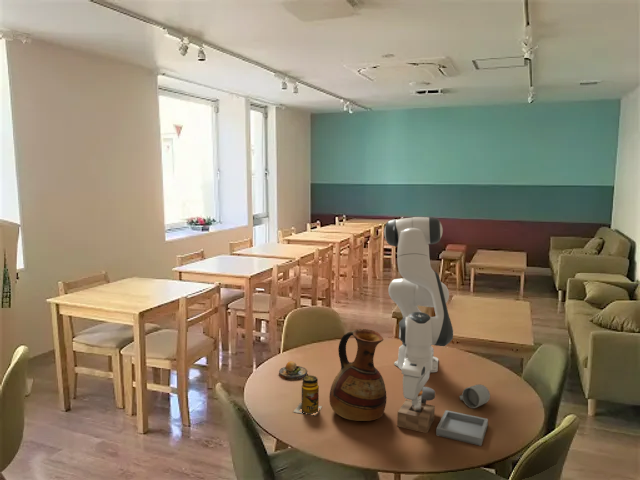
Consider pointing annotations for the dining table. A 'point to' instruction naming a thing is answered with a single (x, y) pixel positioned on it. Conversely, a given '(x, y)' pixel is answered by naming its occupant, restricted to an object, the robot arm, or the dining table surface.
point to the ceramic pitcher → (359, 380)
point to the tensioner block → (417, 413)
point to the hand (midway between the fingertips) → (416, 401)
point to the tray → (462, 427)
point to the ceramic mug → (475, 396)
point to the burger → (292, 371)
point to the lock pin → (418, 407)
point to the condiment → (309, 396)
